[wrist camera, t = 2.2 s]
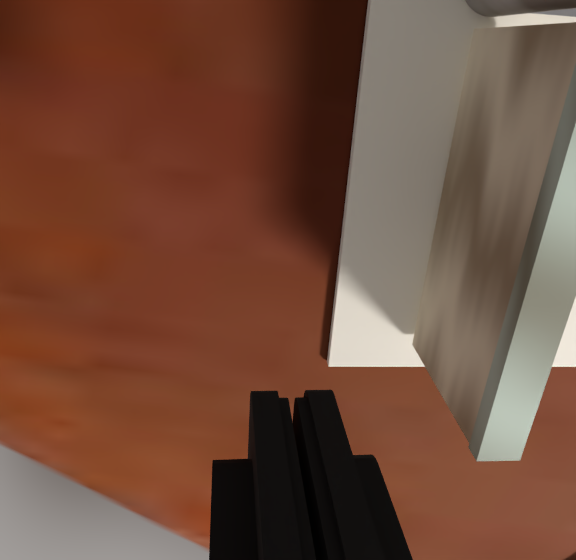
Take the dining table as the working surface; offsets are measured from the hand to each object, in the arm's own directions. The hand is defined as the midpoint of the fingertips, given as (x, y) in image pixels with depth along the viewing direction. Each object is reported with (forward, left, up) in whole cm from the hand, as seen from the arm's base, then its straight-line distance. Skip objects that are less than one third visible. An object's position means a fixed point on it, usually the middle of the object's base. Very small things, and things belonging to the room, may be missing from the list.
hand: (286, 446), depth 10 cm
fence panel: (-7, -2, -10) cm, 12 cm away
